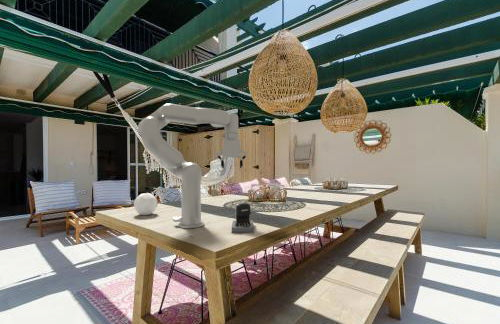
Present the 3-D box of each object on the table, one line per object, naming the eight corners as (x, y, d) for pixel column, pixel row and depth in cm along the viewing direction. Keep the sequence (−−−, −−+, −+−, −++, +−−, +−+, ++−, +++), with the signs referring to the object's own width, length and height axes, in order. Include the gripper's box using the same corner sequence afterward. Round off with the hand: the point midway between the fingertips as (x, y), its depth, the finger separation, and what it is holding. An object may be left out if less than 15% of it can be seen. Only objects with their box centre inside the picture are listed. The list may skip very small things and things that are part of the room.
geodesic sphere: (147, 201, 169) (138, 186, 161) (165, 202, 166) (157, 187, 157) (135, 219, 158) (125, 203, 150) (154, 220, 155) (145, 204, 147)
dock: (231, 233, 117) (231, 227, 117) (233, 225, 130) (232, 220, 130) (253, 232, 117) (253, 227, 117) (253, 225, 130) (252, 220, 130)
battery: (238, 229, 120) (237, 204, 120) (235, 227, 124) (234, 203, 124) (251, 227, 123) (251, 203, 123) (248, 225, 127) (248, 202, 127)
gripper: (214, 136, 139) (215, 168, 139) (247, 136, 139) (247, 168, 139) (216, 137, 146) (216, 167, 147) (247, 137, 146) (247, 167, 147)
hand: (231, 167), depth 143 cm, fingers open, 9 cm apart
